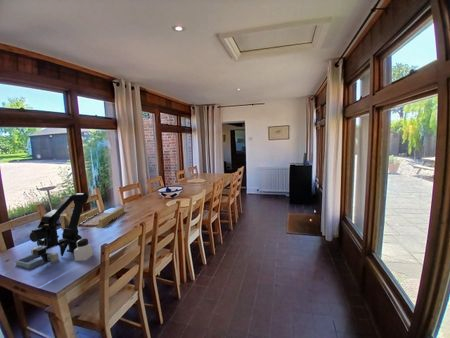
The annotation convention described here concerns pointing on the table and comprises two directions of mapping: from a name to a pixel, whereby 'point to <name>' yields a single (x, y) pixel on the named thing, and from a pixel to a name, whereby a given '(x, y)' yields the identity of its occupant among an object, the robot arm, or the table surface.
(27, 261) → the dish
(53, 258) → the pebble
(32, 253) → the pebble
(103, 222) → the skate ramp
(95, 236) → the table surface
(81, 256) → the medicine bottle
